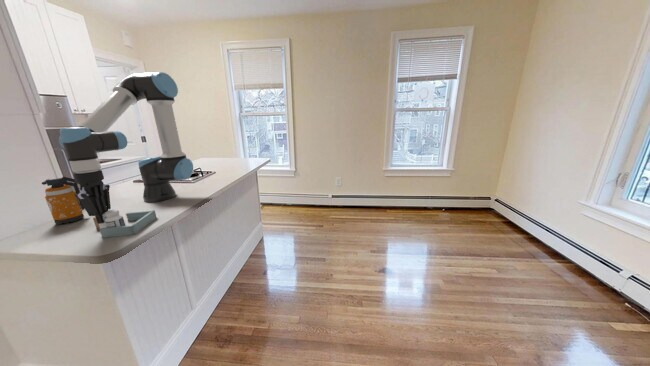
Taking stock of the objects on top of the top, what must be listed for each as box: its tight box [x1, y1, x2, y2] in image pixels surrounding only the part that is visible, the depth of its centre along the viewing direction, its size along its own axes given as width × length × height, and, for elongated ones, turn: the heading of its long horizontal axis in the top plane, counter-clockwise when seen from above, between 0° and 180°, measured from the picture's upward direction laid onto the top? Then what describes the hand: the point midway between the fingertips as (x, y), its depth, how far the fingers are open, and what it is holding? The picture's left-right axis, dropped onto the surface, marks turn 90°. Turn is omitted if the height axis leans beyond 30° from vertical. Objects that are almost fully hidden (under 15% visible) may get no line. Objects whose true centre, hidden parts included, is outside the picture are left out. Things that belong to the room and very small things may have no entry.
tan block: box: [92, 216, 100, 230], centre depth 97 cm, size 5×5×5 cm
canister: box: [41, 176, 85, 225], centre depth 102 cm, size 9×11×20 cm
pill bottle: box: [105, 209, 127, 228], centre depth 90 cm, size 5×5×9 cm
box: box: [99, 209, 157, 239], centre depth 95 cm, size 16×11×4 cm
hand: (106, 229), depth 90 cm, fingers closed
